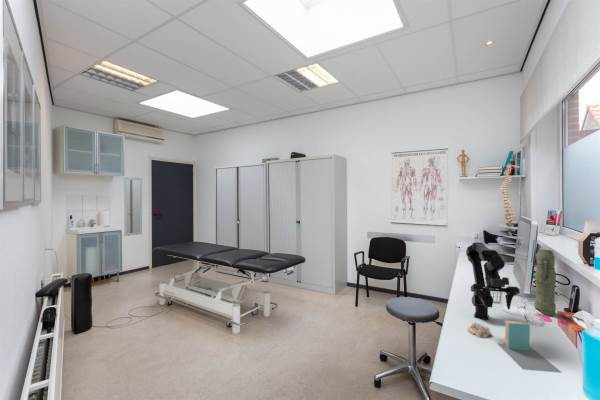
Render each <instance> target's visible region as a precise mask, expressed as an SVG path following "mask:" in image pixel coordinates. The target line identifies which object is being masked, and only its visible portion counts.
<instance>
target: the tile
mask: <svg viewBox="0 0 600 400" xmlns="http://www.w3.org/2000/svg"><path fill="white" fill-rule="evenodd" d="M530 326H531V324H530V323H528V322H527V321H512V320H505V340H504V341H505V343H504V344H505V346H506V347H507V348H508V349H517V350H529V346H531V345H530V343H531V342H530V335H531V334H530V333H531V332H530V331H531V330H530V328H531V327H530Z"/></svg>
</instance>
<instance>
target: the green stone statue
mask: <svg viewBox="0 0 600 400" xmlns="http://www.w3.org/2000/svg"><path fill="white" fill-rule="evenodd" d="M555 264H556V257H555V253H554V252H553V251H552V250H550V249H539V250H538V251H537V254H536V268H535V270H534V271H535V272H534V280H535V299H534V310H535V309H536V310H538V311H539V312H541V313H542V314H544V315H543V316H545V315H546V316H547V317H555V316H556V309H557V307H556V303H555V296H556V295H555V293H556V292H555V289H556V288H555V285H556V284H557V273H556V271H555V269H556V268H555ZM546 316H545V317H546Z"/></svg>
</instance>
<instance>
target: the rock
mask: <svg viewBox="0 0 600 400" xmlns="http://www.w3.org/2000/svg"><path fill="white" fill-rule="evenodd" d="M466 332H468V333H470V334H471V335H474V337H476V338H487V337H488V336H490V335H492V332H491V330H490V327H488V326H485V325H483V324H482V323H478V322H473V323H471V324H470V326H467V329H466Z"/></svg>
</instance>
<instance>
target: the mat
mask: <svg viewBox="0 0 600 400" xmlns="http://www.w3.org/2000/svg"><path fill="white" fill-rule="evenodd" d="M496 344H497V345H498V347H500V348H501V349H502V350H503V351H504V353H506V354H507V355H508V356H509V357H510V358H511V359H512V360H513V361H514V362H515V363H516V364H517V365H518V366H519V367H520V368H521V369H522V370H525V371H527V370H528V371H539V372H550V373H562V371H561V370H559V369H558V368H557V367H556V366H555V365H554V364H553V363H551V362H550V361H549V360H548V359H547V358H545V357H544V356H543V355H542V354H540V353H539V352H538V351H537V350H536V349H535V348H534V347H532V346H531V345H530V346H529V350H517V349H508V348H507V347H506V346H505V343H500V342H497V343H496Z"/></svg>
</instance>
